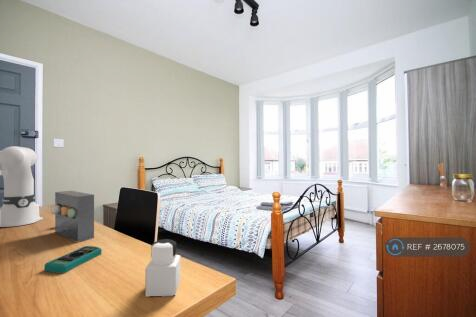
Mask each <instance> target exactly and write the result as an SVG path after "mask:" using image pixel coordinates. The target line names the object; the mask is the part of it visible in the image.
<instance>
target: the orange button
mask: <svg viewBox="0 0 476 317" xmlns="http://www.w3.org/2000/svg"><path fill="white" fill-rule="evenodd" d="M67 211H68V206H67V207H62V208H61V215H62V216H65V215H67Z"/></svg>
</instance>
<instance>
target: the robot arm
mask: <svg viewBox="0 0 476 317" xmlns="http://www.w3.org/2000/svg"><path fill="white" fill-rule="evenodd" d="M37 161H38V155H37V153H36V152H35V151H34V150H33V149H31V148H29V147H23V146H16V145H15V146H14V145H13V146H7V147H5V148H3V149H1V150H0V176H2V177H3V189H4V190H3V195H4V196H3V197H2V206H0V228H6V227H7V228H9V227H19V226H25V225H29V224H33V223H37V222H39V221H41V220H43V219H44V217H43V216H40V208H39V207H40V206H39V204H38V203H36V202H35V201H36V194H35V180H34V176H33V173H32V166H34V165H35V164H36V162H37Z"/></svg>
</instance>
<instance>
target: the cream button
mask: <svg viewBox="0 0 476 317" xmlns="http://www.w3.org/2000/svg"><path fill="white" fill-rule="evenodd" d="M50 211H51V214H52V215H55V214H58V213H61V206H60V205H55V204H54V205H52V206H51V207H50Z"/></svg>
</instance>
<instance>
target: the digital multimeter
mask: <svg viewBox="0 0 476 317" xmlns="http://www.w3.org/2000/svg"><path fill="white" fill-rule="evenodd" d="M101 255H102V248H101V247H98V246H94V245H93V246H92V245H86V246H82V247H79V248H78V249H75V250H73V251H71V252H68V253H67V254H63V255H62V256H59V257H57V258H54V259H51V260H49V261H47V262H46V263H45V264H44V271H45V272H48V273H49V272H50V273H55V274H56V273H58V274H66V273H68V272H69V271H72V270H73V269H74V268H76V267H78V266H80V265H83V264H84V263H87V262H89V261H90V260H92V259H94V258H97V257H98V256H101Z"/></svg>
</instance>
